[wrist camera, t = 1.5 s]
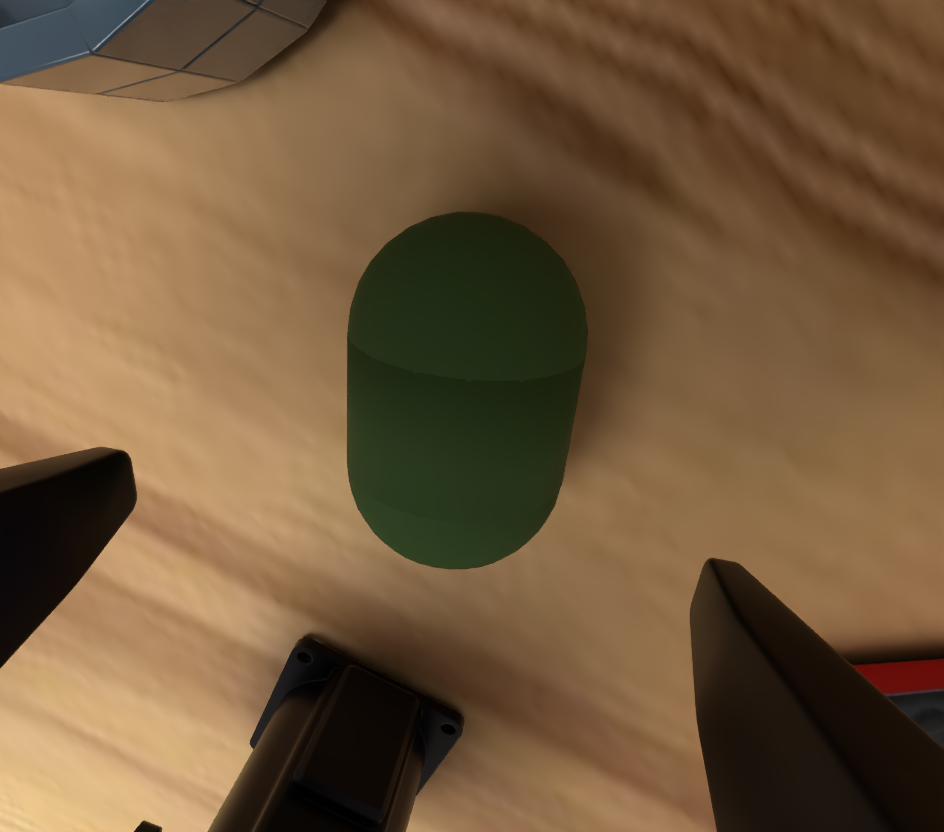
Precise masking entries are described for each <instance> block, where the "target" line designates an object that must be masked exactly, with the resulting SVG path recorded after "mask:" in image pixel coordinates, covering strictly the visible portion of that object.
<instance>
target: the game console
mask: <svg viewBox="0 0 944 832" xmlns="http://www.w3.org/2000/svg"><path fill="white" fill-rule="evenodd" d="M852 666H853V667H854V668H855V669H857V670H858V671H859V672H860V673H861V674H862V675H863V676H864V677H865V678H867V679H868V680H869V681H870V682H871V683H872V684H873V685H874V686H875V687H877V688H878V689H879V690H880V691H881V692H882V693H883V694H884V695H885V696H886V697H888V698H889V699H890V700H891V701H892V702H893V703H894V704H895V705H896V706H898V707H899V708H900V709H901V710H902V711H903V712H904V713H905V714H906V715H908V716H909V717H910V718H911V719H912V720H913V721H914V722H915V723H916V724H917V725H919V726H920V727H921V728H922V729H923V730H924V731H925V732H926V733H927V734H929V735H930V736H931V737H932V738H933V739H934V740H935V741H936V742H937V743H939V744H940V745H941V746H942V747H943V748H944V658H940V659H926V660H912V661H899V662H884V663H868V664H854V665H852Z"/></svg>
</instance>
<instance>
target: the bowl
mask: <svg viewBox="0 0 944 832" xmlns="http://www.w3.org/2000/svg"><path fill="white" fill-rule="evenodd" d="M326 2H327V0H0V84H4V85H13V86H22V87H31V88H40V89H49V90H58V91H67V92H76V93H85V94H94V95H103V96H112V97H121V98H130V99H139V100H148V101H157V102H165V101H167V102H168V101H172V100H176V99H179V98H183V97H187V96H191V95H195V94H198V93H202V92H206V91H210V90H214V89H218V88H221V87H225V86H229V85H233V84H236V83H238V82H239V81H243V80H244V79H246V78H247V77H248V76H250V75H251V74H252V73H254V72H255V71H256V70H257V69H259V68H260V67H261V66H263V65H264V64H265V63H267V62H268V61H269V60H270V59H272V58H273V57H274V56H276V55H277V54H278V53H280V52H281V51H282V50H283V49H285V48H286V47H287V46H289V45H290V44H291V43H292V42H294V41H295V40H296V39H298V38H299V37H300V36H302V35H303V34H304V33H305V32H307V30H308V29H307V28H309V27H311V25H312V24H313V22H314V21H315V19H316V18H317V16H318V14H319V13H320V11H321V10H322V8H323V7H324V5H325V3H326Z"/></svg>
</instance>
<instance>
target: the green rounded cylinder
mask: <svg viewBox="0 0 944 832" xmlns="http://www.w3.org/2000/svg"><path fill="white" fill-rule="evenodd" d="M587 332H588V329H587V322H586V314H585V307H584V304H583V301H582V298H581V295H580V292H579V289H578V286H577V284H576V281H575V279H574V277H573V275H572V274H571V272H570V270H569V269H568V267H567V265H566V264H565V262H564V260H563V259H562V258H561V257H560V256H559V255H558V254H557V253H556V252H555V250H554V249H553V248H552V247H551V246H550V245H549V244H548V243H547V242H546V241H545V240H543V239H542V238H540V237H539V236H538V235H536V234H535V233H533V232H532V231H530V230H529V229H528V228H526V227H525V226H522V225H520V224H518V223H515V222H513V221H510V220H508V219H505V218H503V217H500V216H496V215H491V214H484V213H474V212H456V213H451V214H446V215H440V216H435V217H431V218H429V219H427V220H424V221H422V222H420V223H417V224H415V225H413V226H411V227H409V228H407V229H406V230H404V231H403V232H402V233H400V234H399V235H398V236H396V237H395V238H393V239H392V240H391V241H389V242H388V243H387V244H386V245H385V246H384V247H383V248H382V249H381V250H380V251H379V253H378V254H377V255H376V256H375V257H374V258H373V259H372V260H371V262H370V263H369V265H368V267H367V268H366V270H365V272H364V274H363V275H362V277H361V279H360V281H359V283H358V286H357V289H356V292H355V295H354V298H353V301H352V304H351V308H350V315H349V324H348V333H347V467H348V476H349V482H350V487H351V491H352V494H353V497H354V499H355V502H356V505H357V507H358V510H359V511H360V513H361V514H362V516H363V518H364V519H365V521H366V522H367V524H368V525H369V526H370V528H371V529H372V531H373V532H374V533H375V534H376V535H377V536H378V537H379V538H380V539H381V540H382V541H383V542H384V543H385V544H387V545H388V546H389V547H390V548H392V549H393V550H394V551H396V552H397V553H399V554H400V555H402V556H404V557H405V558H407V559H410V560H412V561H414V562H417V563H420V564H423V565H427V566H431V567H436V568H444V569H470V568H477V567H482V566H485V565H489V564H492V563H494V562H496V561H499V560H501V559H503V558H505V557H506V556H508V555H510V554H512V553H514V552H516V551H517V550H519V549H520V548H521V547H522V546H524V545H525V544H526V543H527V542H528V541H529V540H530V539H531V538H532V537H533V536H534V535H535V534H536V533H537V532H538V531H539V530H540V528H541V527H542V526H543V524H544V523H545V522H546V520H547V518H548V517H549V515H550V513H551V511H552V510H553V508H554V506H555V503H556V500H557V497H558V493H559V490H560V487H561V485H562V481H563V476H564V470H565V465H566V459H567V454H568V448H569V443H570V438H571V432H572V427H573V421H574V416H575V410H576V405H577V399H578V394H579V388H580V383H581V377H582V372H583V366H584V361H585V355H586V345H587Z"/></svg>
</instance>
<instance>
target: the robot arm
mask: <svg viewBox="0 0 944 832" xmlns="http://www.w3.org/2000/svg"><path fill="white" fill-rule="evenodd" d="M136 501H137V491H136V485H135V479H134V473H133V467H132V461H131V458H130V456H129V455H128V453H126V452H125V451H123V450H118V449H112V448H107V447H96V448H92V449H88V450H83V451H79V452H74V453H70V454H65V455H61V456H56V457H52V458H47V459H43V460H38V461H34V462H29V463H25V464H20V465H16V466H11V467H7V468H2V469H0V668H1V667H2V666H3V665H4V664H5V663H6V662H7V661H8V659H9V658H10V657H11V656H12V655H13V654H14V653H15V652H16V651H17V650H18V649H19V647H20V646H21V645H22V644H23V643H24V642H25V641H26V640H27V639H28V638H29V636H30V635H31V634H32V633H33V632H34V631H35V630H36V629H37V628H38V627H39V626H40V624H41V623H42V622H43V621H44V620H45V619H46V618H47V617H48V616H49V615H50V613H51V612H52V611H53V610H54V609H55V608H56V607H57V606H58V605H59V604H60V603H61V601H62V600H63V599H64V598H65V597H66V596H67V595H68V594H69V592H70V591H71V590H72V589H73V588H74V587H75V585H76V584H77V583H78V582H79V580H80V579H81V578H82V577H83V575H84V574H85V573H86V572H87V570H88V569H89V568H90V566H91V565H92V564H93V562H94V561H95V560H96V558H97V557H98V556H99V554H100V553H101V552H102V550H103V549H104V548H105V546H106V545H107V544H108V542H109V541H110V540H111V539H112V537H113V536H114V535H115V533H116V532H117V531H118V529H119V528H120V527H121V525H122V524H123V523H124V521H125V520H126V519H127V517H128V516H129V515H130V513H131V512H132V511H133V509H134V507H135V504H136ZM690 629H691V645H692V660H693V675H694V691H695V705H696V716H697V724H698V731H699V737H700V743H701V748H702V753H703V759H704V764H705V769H706V775H707V780H708V786H709V791H710V796H711V802H712V807H713V813H714V818H715V823H716V829H717V832H944V748H943V747H942V746H941V745H940V744H939V743H937V742H936V741H935V740H934V739H933V738H932V737H931V736H930V735H929V734H927V733H926V732H925V731H924V730H923V729H922V728H921V727H920V726H919V725H917V724H916V723H915V722H914V721H913V720H912V719H911V718H910V717H909V716H908V715H906V714H905V713H904V712H903V711H902V710H901V709H900V708H899V707H898V706H896V705H895V704H894V703H893V702H892V701H891V700H890V699H889V698H888V697H886V696H885V695H884V694H883V693H882V692H881V691H880V690H879V689H878V688H877V687H875V686H874V685H873V684H872V683H871V682H870V681H869V680H868V679H867V678H865V677H864V676H863V675H862V674H861V673H860V672H859V671H858V670H857V669H855V668H854V667H853V666H852V665H851V664H850V663H849V662H848V661H847V660H846V659H844V658H843V657H842V656H841V655H840V654H839V653H838V652H837V651H836V650H834V649H833V648H832V647H831V646H830V645H829V644H828V643H827V642H826V641H824V640H823V639H822V638H821V637H820V636H819V635H818V634H817V633H816V632H815V631H813V630H812V629H811V628H810V627H809V626H808V625H807V624H806V623H805V622H803V621H802V620H801V619H800V618H799V617H798V616H797V615H796V614H795V613H793V612H792V611H791V610H790V609H789V608H788V607H787V606H786V605H785V604H784V603H782V602H781V601H780V600H779V599H778V598H777V597H776V596H775V595H774V594H772V593H771V592H770V591H769V590H768V589H767V588H766V587H765V586H764V585H762V584H761V583H760V582H759V581H758V580H757V579H756V578H755V577H754V576H753V575H751V574H750V573H749V572H748V571H747V570H746V569H745V568H744V567H743V566H741V565H740V564H739V563H737V562H733V561H727V560H721V559H716V558H710V559H708V560H707V561H706V562H705V563H704V565H703V568H702V571H701V574H700V578H699V581H698V584H697V587H696V590H695V593H694V596H693V599H692V603H691V608H690ZM307 653H308V654H307ZM463 726H464V718H463V716H462V715H461V714H460V713H459V712H457V711H455V710H453V709H451V708H449V707H447V706H445V705H443V704H441V703H439V702H437V701H435V700H433V699H431V698H429V697H427V696H425V695H423V694H421V693H419V692H417V691H415V690H413V689H411V688H409V687H407V686H405V685H403V684H401V683H399V682H397V681H395V680H393V679H391V678H389V677H387V676H385V675H383V674H381V673H379V672H377V671H375V670H373V669H371V668H369V667H367V666H365V665H363V664H361V663H359V662H357V661H355V660H353V659H351V658H349V657H347V656H345V655H343V654H341V653H339V652H337V651H335V650H333V649H331V648H329V647H327V646H325V645H323V644H321V643H319V642H317V641H315V640H313V639H310V638H303V639H300V640H299V641H298V642H297V643H296V645H295V647H294V648H293V650H292V652H291V654H290V656H289V658H288V660H287V663H286V665H285V667H284V669H283V671H282V673H281V675H280V678H279V680H278V682H277V684H276V686H275V688H274V690H273V693H272V695H271V697H270V699H269V701H268V703H267V706H266V708H265V710H264V712H263V714H262V716H261V718H260V721H259V723H258V725H257V727H256V729H255V731H254V733H253V736H252V738H251V740H250V745H251V747H252V748H253V749H254V750H253V752H252V753H251V755H250V757H249V759H248V761H247V762H246V764H245V766H244V768H243V769H242V771H241V773H240V775H239V777H238V778H237V780H236V782H235V784H234V785H233V787H232V789H231V791H230V793H229V794H228V796H227V798H226V800H225V801H224V803H223V805H222V807H221V809H220V810H219V812H218V814H217V816H216V817H215V819H214V821H213V823H212V825H211V826H210V828H209V830H208V832H406V830H407V826H408V823H409V819H410V815H411V812H412V808H413V804H414V801H415V797H416V795H417V794H418V793H419V791H420V790H421V789H422V787H423V786H424V785H425V783H426V782H427V781H428V779H429V778H430V776H431V775H432V774H433V772H434V771H435V770H436V768H437V767H438V766H439V764H440V763H441V762H442V760H443V759H444V758H445V756H446V755H447V754H448V752H449V751H450V750H451V748H452V747H453V746H454V744H455V743H456V741H457V740H458V739H459V737H460V736H461V734H462V731H463ZM134 832H162V827H159V826H157V825H154V824H152V823H149V822H147V821H142V822H141V824H140V825H139V826H138V827H137V828H136V830H135V831H134Z"/></svg>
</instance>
